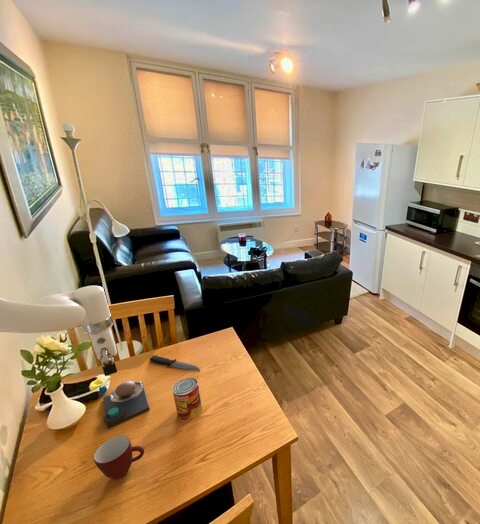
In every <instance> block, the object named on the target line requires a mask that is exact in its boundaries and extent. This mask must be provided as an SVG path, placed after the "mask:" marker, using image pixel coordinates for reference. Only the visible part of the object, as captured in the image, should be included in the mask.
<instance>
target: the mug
mask: <svg viewBox="0 0 480 524" xmlns="http://www.w3.org/2000/svg"><path fill="white" fill-rule="evenodd" d="M134 452H139V454H138V455H137V456H134V457H133V453H134ZM144 455H145V448H144V447H143V446H141V445H135V446H133V445H132V442H131V439H130V438H129V437H128V436H126V435H116V436H114V437H113V436H112V437H111V438H109V439H106V441H104V442H103V443H101V444H100V445H99V446H98V447H97V449H96V450H95V452H94V454H93V460H94V463H95V466H96V467H97V468H98V470H99V471H100V472H101V473H102V475H104V476H105V477H106V478H108V479H115V480H116V479H117V480H118V479H120V478H123V477H124V476H125V475H126V474H127V473H128V472H129V470H130V468H131V465H132V464H133V463H134V462H137V461H139V460H140V459H141V458H143V457H144Z"/></svg>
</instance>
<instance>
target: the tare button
mask: <svg viewBox="0 0 480 524" xmlns="http://www.w3.org/2000/svg"><path fill="white" fill-rule="evenodd" d="M108 415H109V417H110V418H114V417H116V416H117V415H119V409H118V408H117V407H115V408H112V409H110V410H109V411H108Z"/></svg>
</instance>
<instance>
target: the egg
mask: <svg viewBox="0 0 480 524" xmlns="http://www.w3.org/2000/svg"><path fill="white" fill-rule="evenodd" d="M132 381H133V380H127V381H123V382H120V384H118V385H117V386H116V387H115V389H116V390H115V389H114V390H115V393H116V395H118V396H127V395H129V394H131V393H132V392H133V391H134V390H135V388H136V384H135V383H134V382H132Z"/></svg>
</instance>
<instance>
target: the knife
mask: <svg viewBox="0 0 480 524" xmlns="http://www.w3.org/2000/svg"><path fill="white" fill-rule="evenodd" d="M149 362H151V363H154V364H157V365H162V366H166V367H167V368H169V367H172V368H177V369H181V370H194V371H197V372H199V373H200V372H201V369H200V367H198V366H197V365H194V364H190V363H187V362H182V361H177V358H175V359H171V358H167V357H163V356H158V355H157V354H156V355H151V356H150V358H149Z"/></svg>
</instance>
